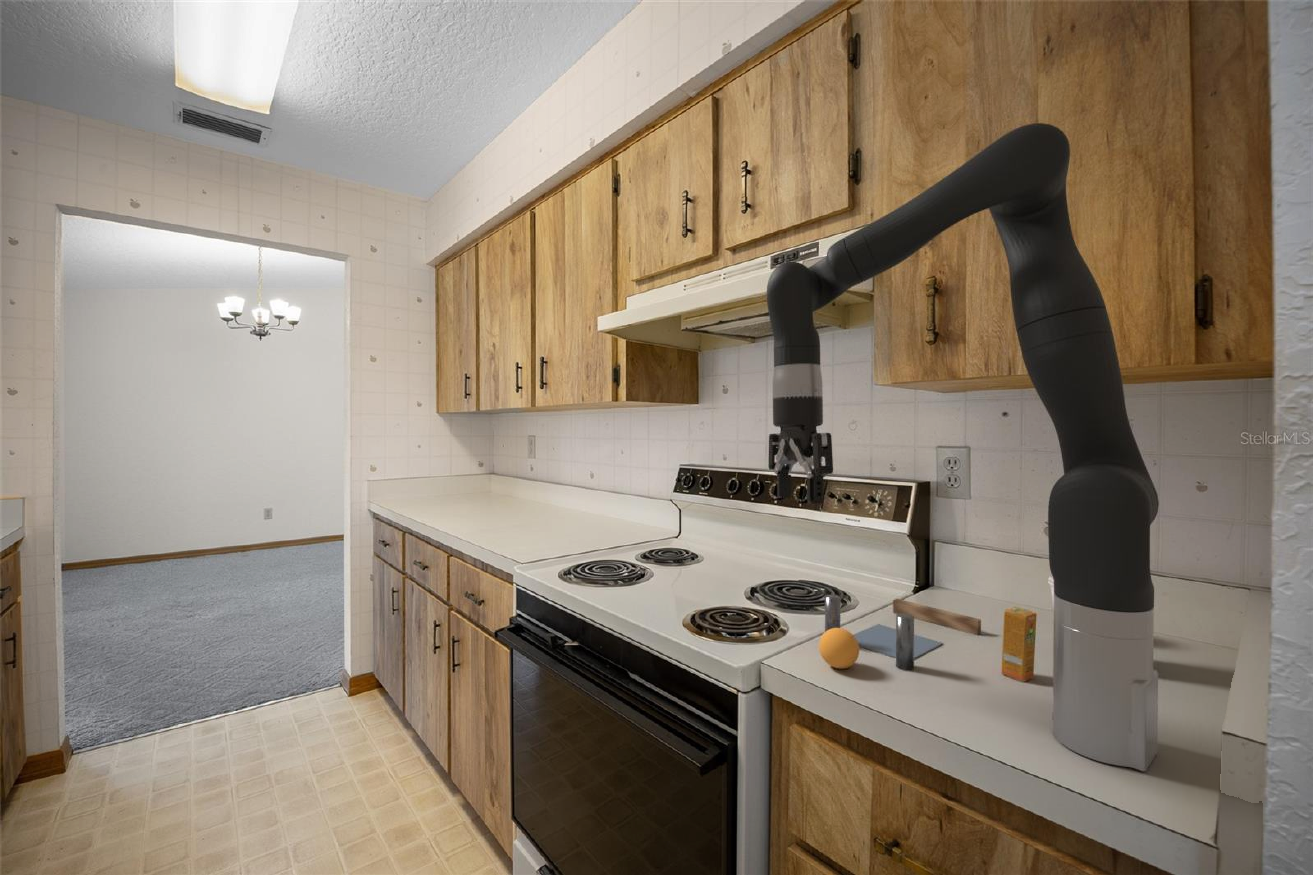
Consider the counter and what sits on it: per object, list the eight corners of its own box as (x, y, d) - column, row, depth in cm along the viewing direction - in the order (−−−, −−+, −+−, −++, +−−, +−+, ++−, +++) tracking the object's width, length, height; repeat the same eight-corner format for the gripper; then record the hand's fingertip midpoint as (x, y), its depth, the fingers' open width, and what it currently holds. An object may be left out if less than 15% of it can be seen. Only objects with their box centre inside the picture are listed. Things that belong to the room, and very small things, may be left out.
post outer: (843, 642, 98) (843, 597, 98) (834, 646, 97) (834, 600, 96) (830, 638, 100) (830, 593, 100) (821, 641, 99) (821, 596, 99)
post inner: (917, 667, 88) (917, 616, 88) (908, 672, 86) (909, 620, 86) (901, 662, 90) (901, 612, 90) (892, 666, 88) (892, 615, 88)
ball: (866, 668, 88) (866, 629, 88) (844, 678, 84) (844, 639, 84) (833, 655, 93) (833, 619, 92) (811, 665, 89) (811, 628, 89)
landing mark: (942, 644, 97) (942, 642, 97) (908, 662, 90) (908, 661, 90) (878, 625, 107) (878, 624, 107) (842, 640, 99) (842, 639, 99)
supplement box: (1025, 683, 82) (1025, 615, 82) (1000, 674, 85) (1001, 609, 85) (1036, 678, 84) (1037, 611, 84) (1012, 669, 87) (1012, 605, 87)
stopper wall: (980, 633, 102) (981, 619, 102) (977, 635, 101) (977, 621, 101) (896, 610, 115) (896, 598, 115) (893, 612, 114) (893, 600, 114)
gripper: (847, 392, 81) (848, 504, 82) (793, 398, 95) (794, 494, 95) (802, 392, 79) (803, 507, 79) (753, 398, 93) (755, 497, 93)
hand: (798, 500), depth 87 cm, fingers open, 8 cm apart
